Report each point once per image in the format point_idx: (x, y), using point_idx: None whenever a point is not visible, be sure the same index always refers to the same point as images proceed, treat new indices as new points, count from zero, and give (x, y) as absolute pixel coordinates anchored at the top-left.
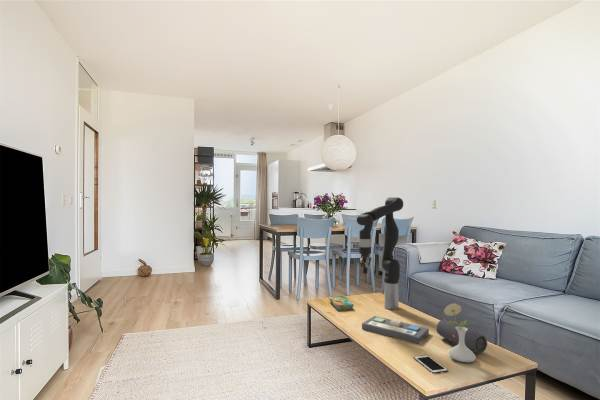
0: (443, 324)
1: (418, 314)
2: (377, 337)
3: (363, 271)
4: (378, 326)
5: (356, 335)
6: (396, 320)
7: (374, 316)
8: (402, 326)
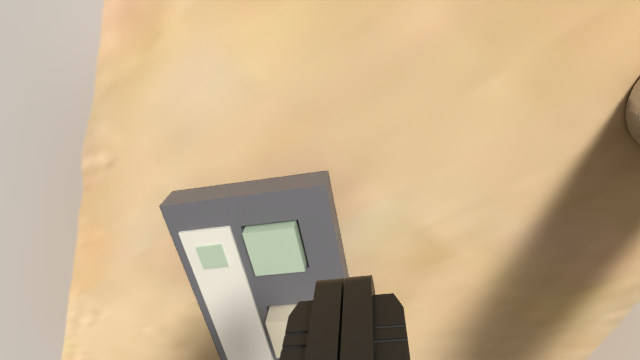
0: None
1: (626, 285)
2: (162, 289)
3: (287, 326)
4: (199, 286)
5: (91, 220)
6: None
7: (314, 191)
8: None
